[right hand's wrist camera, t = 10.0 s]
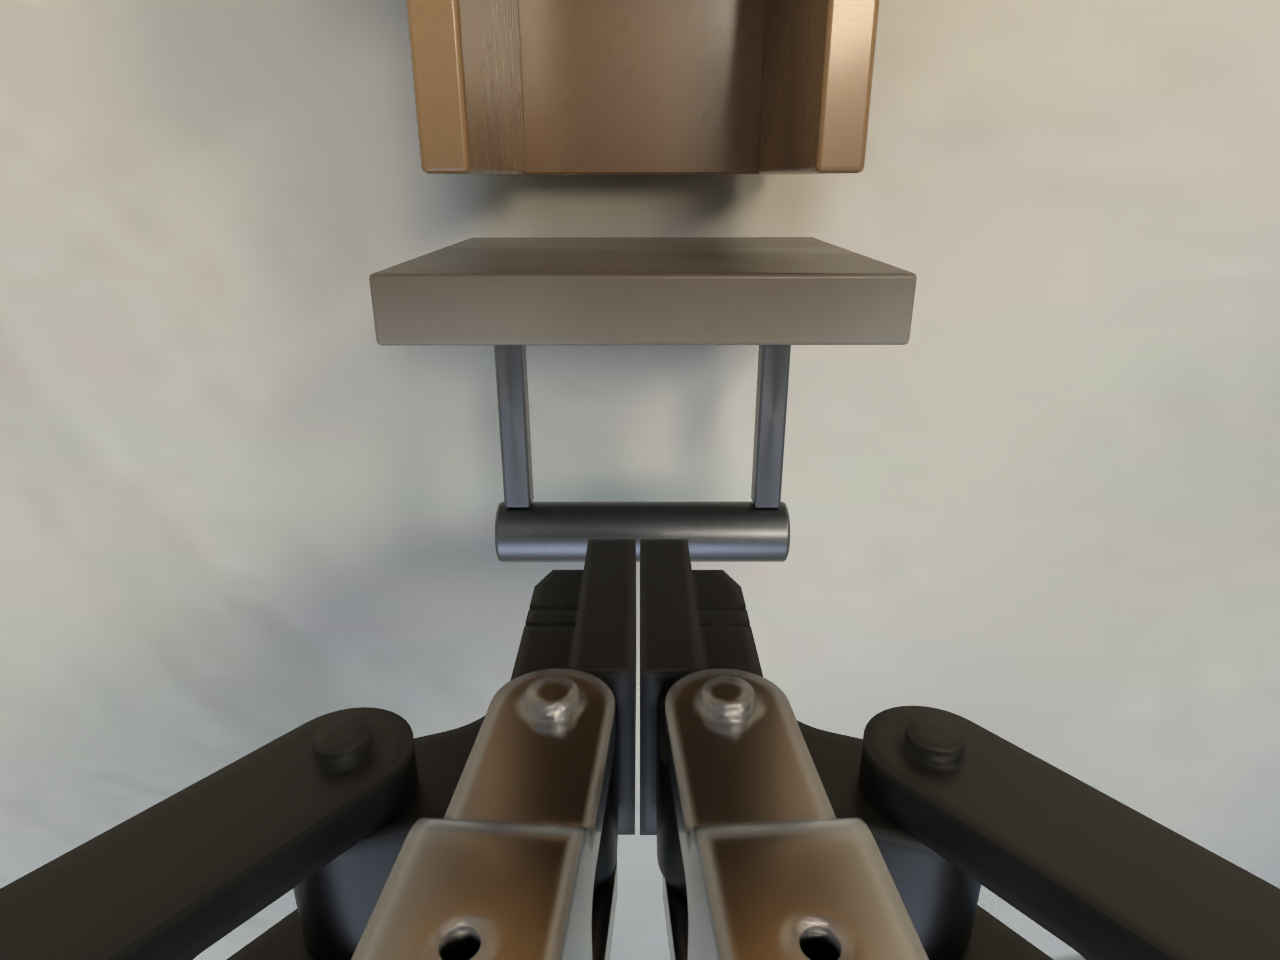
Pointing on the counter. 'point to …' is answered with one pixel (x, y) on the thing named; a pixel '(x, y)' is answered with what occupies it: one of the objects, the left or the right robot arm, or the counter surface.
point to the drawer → (642, 267)
